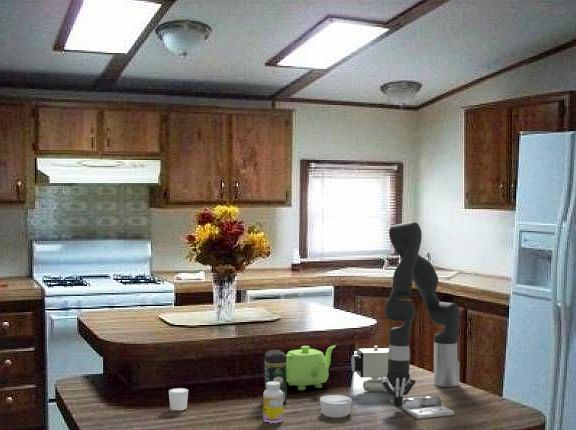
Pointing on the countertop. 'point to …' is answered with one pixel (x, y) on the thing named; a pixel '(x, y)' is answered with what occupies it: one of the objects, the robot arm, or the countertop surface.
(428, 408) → the loose leaf
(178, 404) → the shot glass
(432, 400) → the fixed leaf
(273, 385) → the supplement bottle
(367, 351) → the ball valve
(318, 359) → the teapot
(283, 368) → the coffee jar
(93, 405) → the countertop surface
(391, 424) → the countertop surface
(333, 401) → the ramekin
